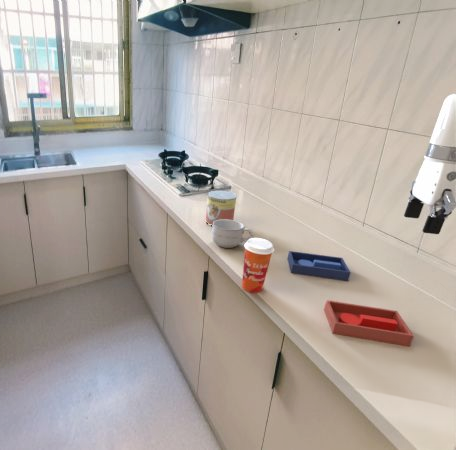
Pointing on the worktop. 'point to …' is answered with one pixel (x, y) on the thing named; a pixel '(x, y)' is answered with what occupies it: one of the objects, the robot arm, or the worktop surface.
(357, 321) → the red spoon
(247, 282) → the paper cup
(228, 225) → the teacup
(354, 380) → the worktop surface
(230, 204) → the canned food
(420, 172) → the robot arm
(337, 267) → the blue spoon
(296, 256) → the blue tray
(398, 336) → the red tray
